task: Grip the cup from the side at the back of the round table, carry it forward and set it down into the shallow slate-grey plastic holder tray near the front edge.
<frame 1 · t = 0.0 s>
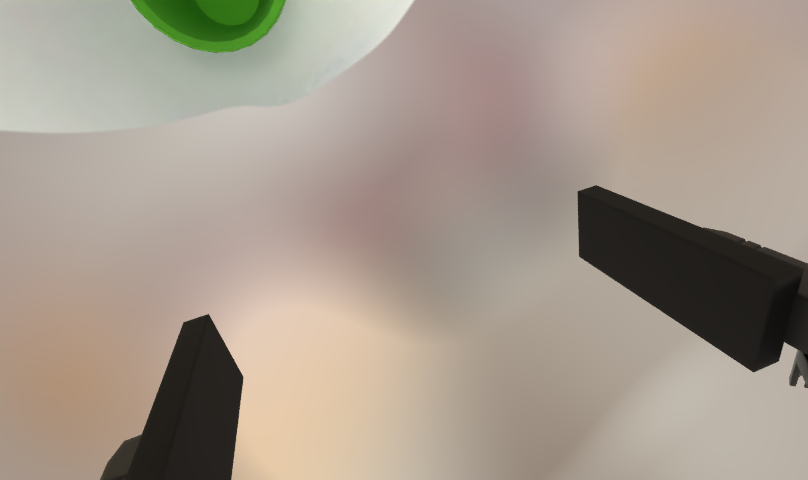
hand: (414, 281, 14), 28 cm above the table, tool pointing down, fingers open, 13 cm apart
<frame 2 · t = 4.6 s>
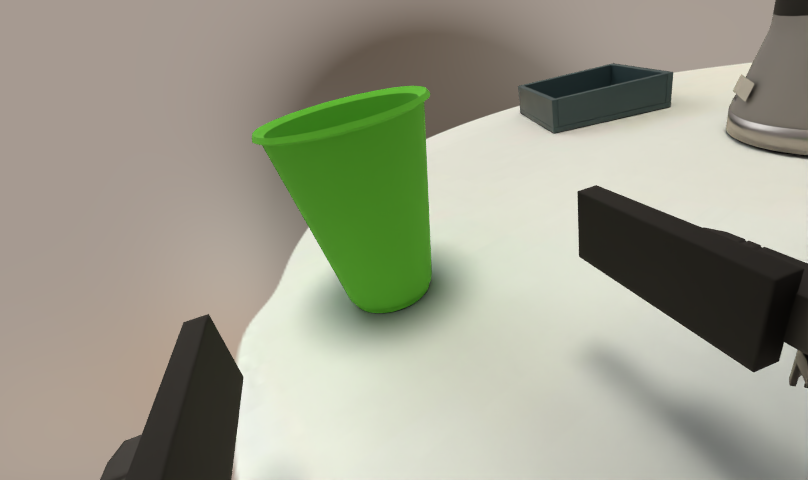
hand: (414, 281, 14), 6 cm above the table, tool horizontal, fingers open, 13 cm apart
holder: (586, 110, 50), on the table
cup: (392, 290, 25), on the table
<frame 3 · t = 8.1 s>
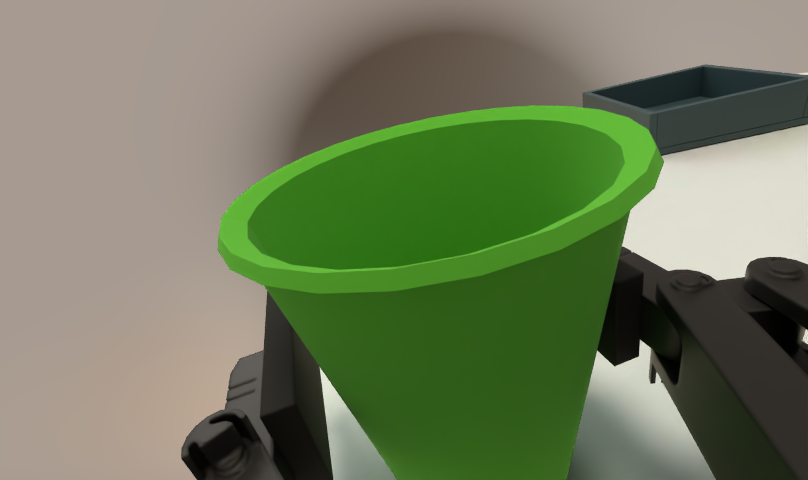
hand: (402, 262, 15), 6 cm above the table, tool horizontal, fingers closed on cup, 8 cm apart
holder: (678, 125, 39), on the table
cup: (484, 470, 14), on the table, touching gripper
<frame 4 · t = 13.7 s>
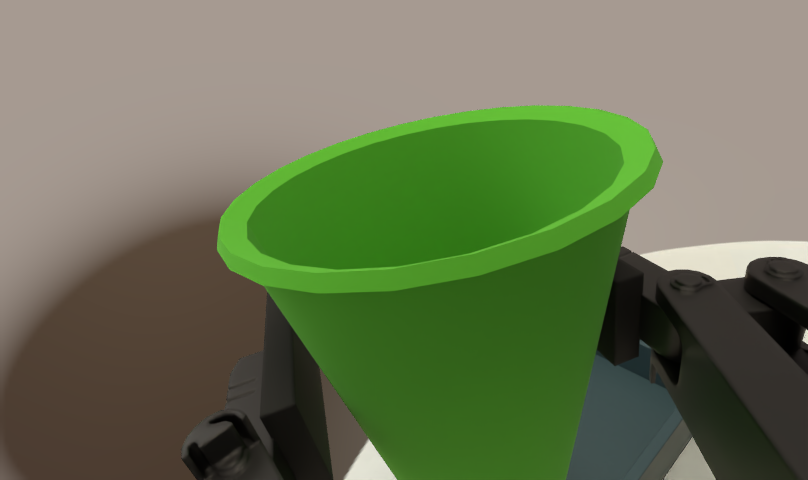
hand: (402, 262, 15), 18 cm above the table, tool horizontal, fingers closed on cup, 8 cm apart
holder: (566, 414, 29), on the table
cup: (483, 470, 14), point 12 cm above the table, touching gripper
when the fingers open (6 cm above the table, at t = 19.2 s): cup stays where it is, resting on holder.
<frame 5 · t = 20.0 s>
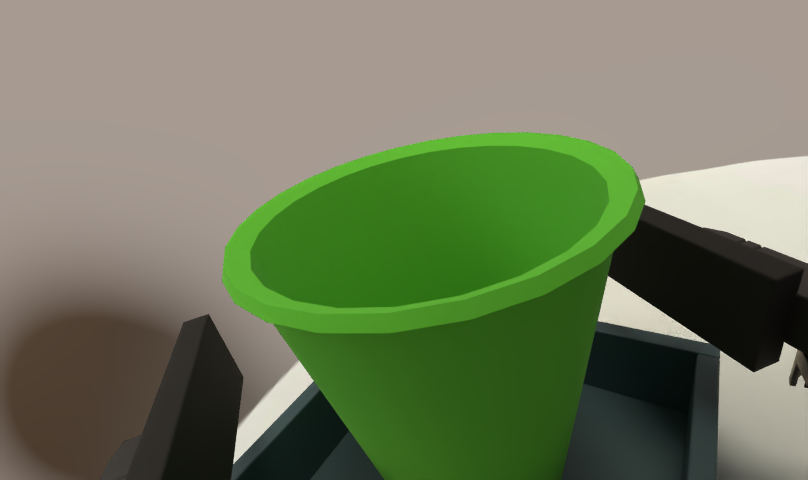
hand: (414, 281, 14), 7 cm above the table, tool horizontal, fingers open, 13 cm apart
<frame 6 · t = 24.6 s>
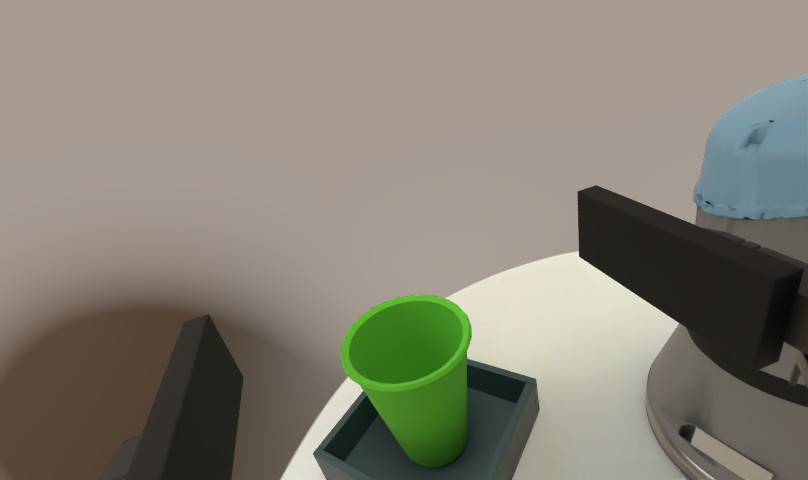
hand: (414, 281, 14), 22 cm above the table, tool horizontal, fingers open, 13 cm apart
holder: (435, 445, 33), on the table
cup: (435, 440, 33), resting on holder
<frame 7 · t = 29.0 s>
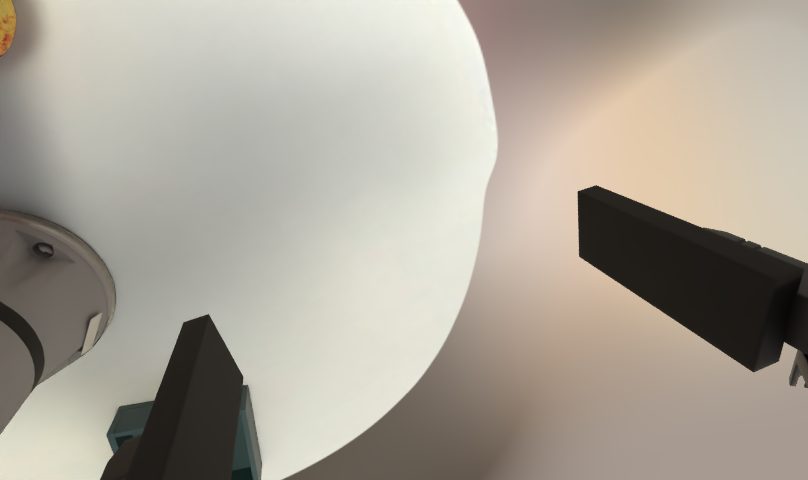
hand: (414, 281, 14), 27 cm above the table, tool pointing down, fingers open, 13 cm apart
holder: (196, 437, 47), on the table
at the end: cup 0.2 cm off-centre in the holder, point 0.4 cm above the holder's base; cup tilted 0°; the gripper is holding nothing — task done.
